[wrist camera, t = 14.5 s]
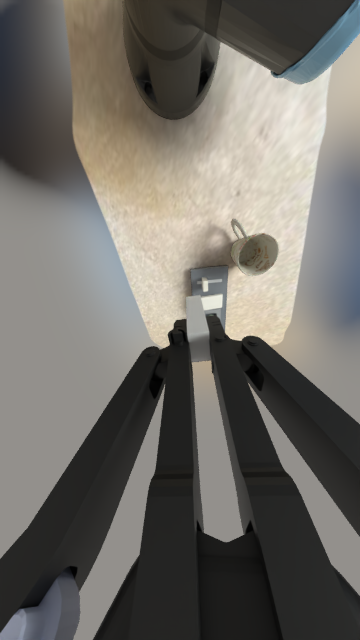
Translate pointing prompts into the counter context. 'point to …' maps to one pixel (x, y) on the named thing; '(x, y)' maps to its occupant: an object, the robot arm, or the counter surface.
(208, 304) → the plate
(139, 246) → the counter surface
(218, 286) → the panel
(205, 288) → the slider
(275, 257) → the mug
